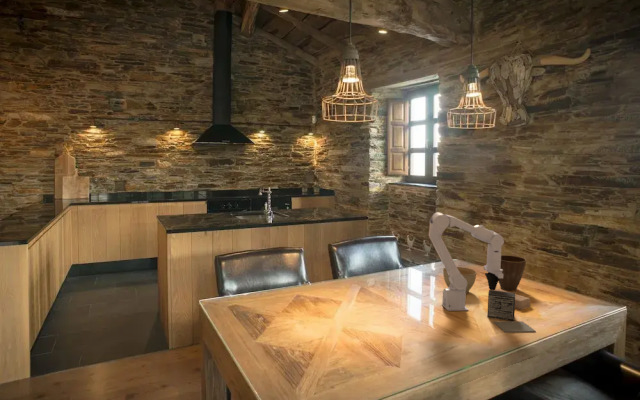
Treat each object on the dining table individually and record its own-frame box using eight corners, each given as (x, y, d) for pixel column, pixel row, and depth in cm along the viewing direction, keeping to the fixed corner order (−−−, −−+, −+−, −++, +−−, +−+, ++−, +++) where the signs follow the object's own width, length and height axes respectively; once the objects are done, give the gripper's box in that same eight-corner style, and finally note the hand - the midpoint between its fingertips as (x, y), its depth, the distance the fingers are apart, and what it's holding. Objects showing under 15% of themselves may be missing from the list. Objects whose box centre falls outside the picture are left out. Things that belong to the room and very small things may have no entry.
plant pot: (496, 282, 227) (498, 253, 225) (526, 287, 218) (528, 257, 217) (489, 289, 215) (491, 259, 213) (521, 295, 206) (523, 263, 204)
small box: (514, 316, 178) (515, 292, 177) (514, 321, 172) (515, 297, 171) (487, 312, 183) (489, 289, 182) (486, 317, 177) (488, 293, 176)
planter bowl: (478, 290, 213) (479, 269, 212) (471, 298, 200) (472, 276, 199) (447, 284, 222) (448, 264, 221) (438, 292, 209) (439, 271, 207)
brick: (531, 306, 191) (531, 296, 190) (521, 310, 186) (522, 300, 185) (496, 297, 204) (497, 287, 203) (487, 300, 199) (488, 291, 198)
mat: (505, 332, 161) (505, 331, 161) (494, 322, 171) (494, 321, 171) (535, 332, 162) (535, 330, 162) (522, 322, 171) (522, 321, 171)
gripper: (510, 263, 177) (509, 294, 178) (494, 255, 191) (493, 284, 193) (494, 263, 177) (493, 295, 178) (479, 255, 191) (478, 284, 192)
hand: (492, 289), depth 185 cm, fingers closed
